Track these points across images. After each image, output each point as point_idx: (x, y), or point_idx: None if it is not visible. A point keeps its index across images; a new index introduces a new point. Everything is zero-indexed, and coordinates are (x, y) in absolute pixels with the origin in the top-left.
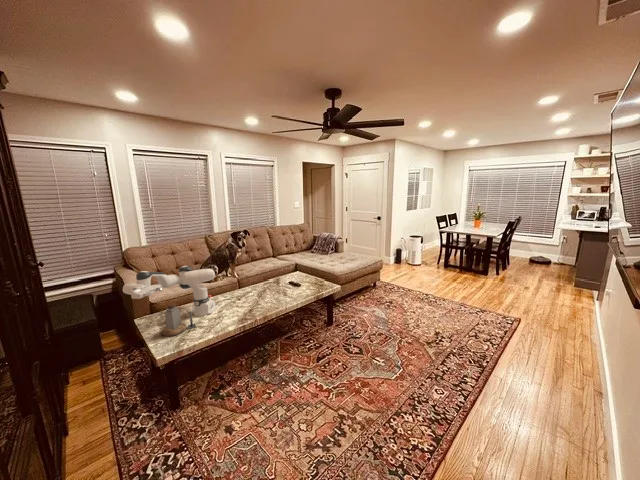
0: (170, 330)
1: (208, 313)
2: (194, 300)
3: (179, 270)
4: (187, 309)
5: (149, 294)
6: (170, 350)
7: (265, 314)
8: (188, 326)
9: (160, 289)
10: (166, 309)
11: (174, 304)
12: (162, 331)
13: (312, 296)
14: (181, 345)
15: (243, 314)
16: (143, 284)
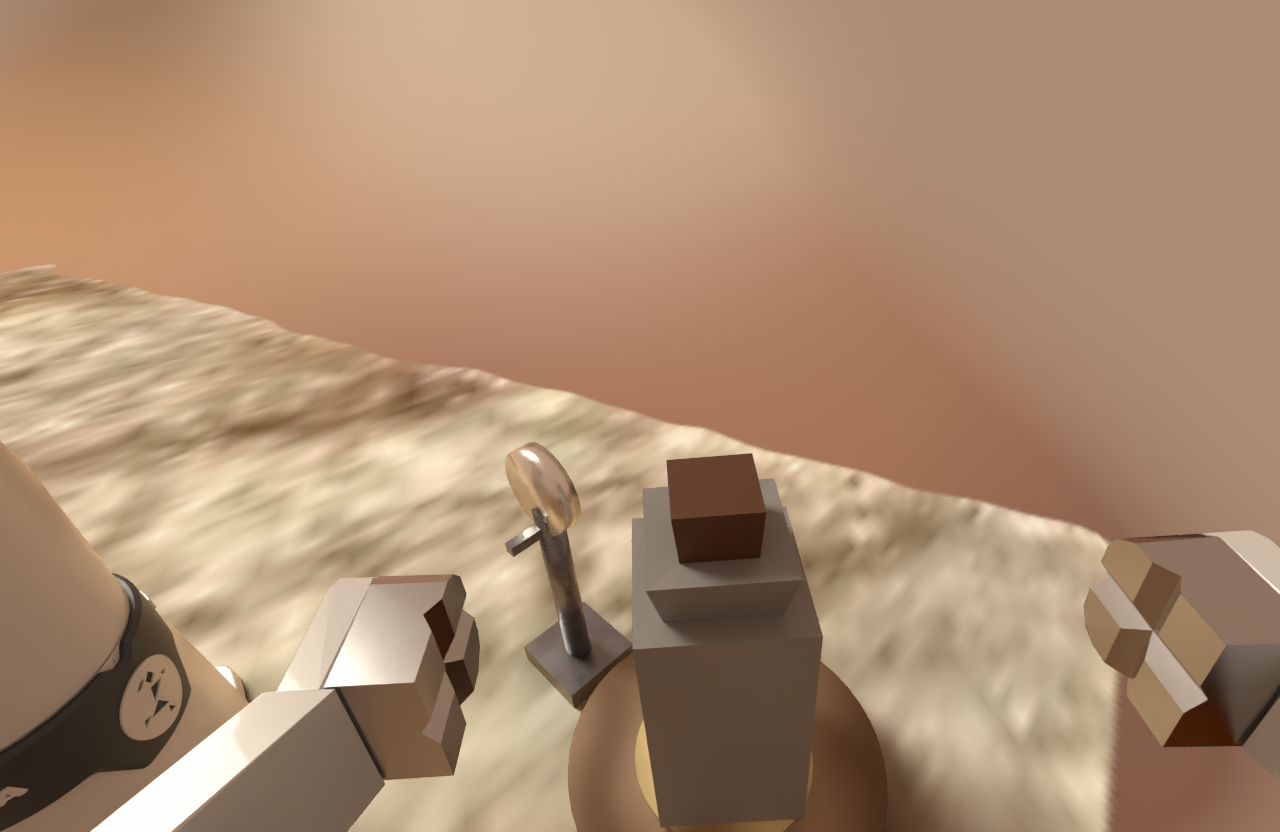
0: None
1: (240, 691)
2: (82, 718)
3: None
4: (568, 484)
5: (1258, 572)
6: (989, 537)
7: (347, 350)
8: (604, 665)
9: (459, 581)
10: (796, 574)
11: (672, 461)
12: (881, 828)
13: (132, 289)
14: (885, 517)
15: (323, 435)
16: None
